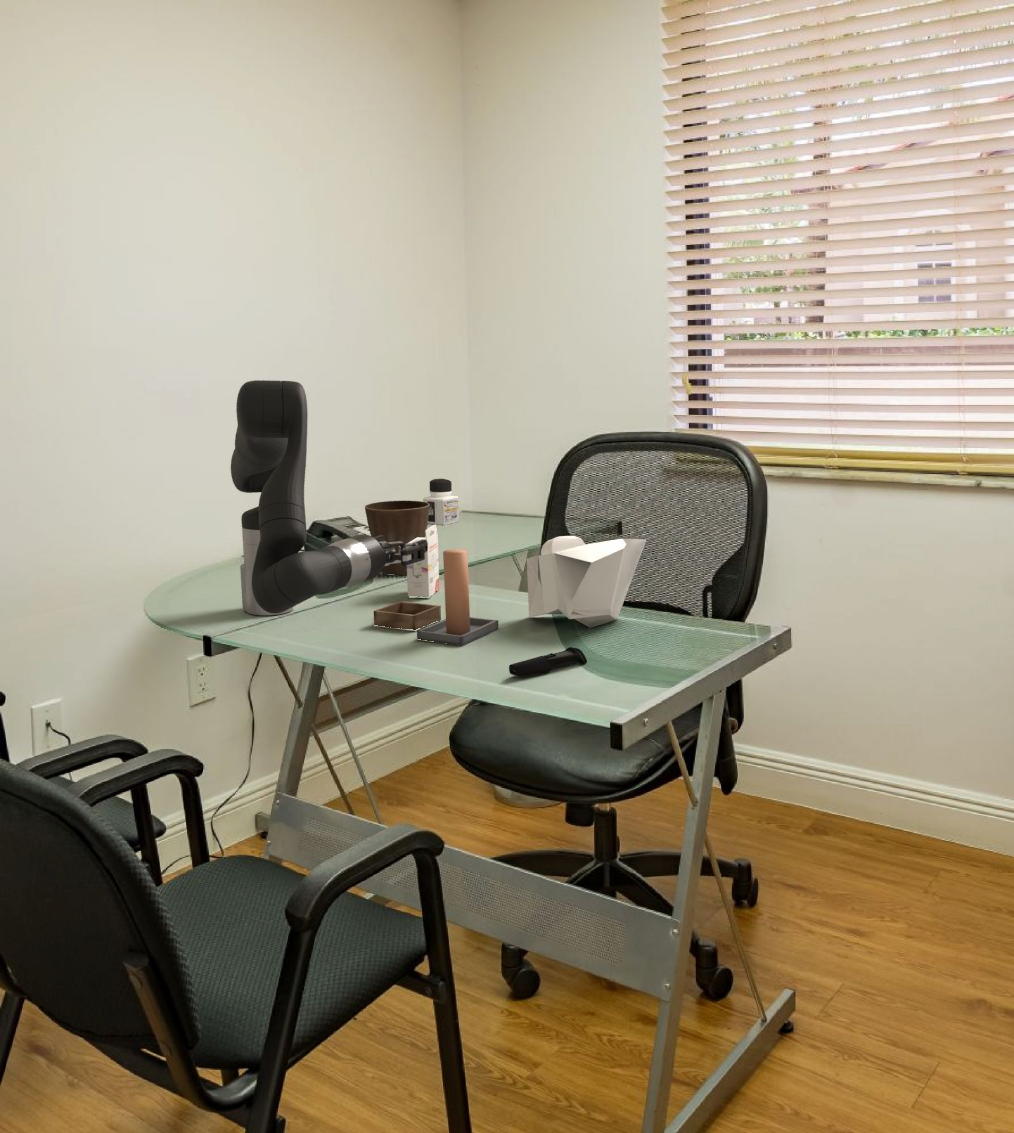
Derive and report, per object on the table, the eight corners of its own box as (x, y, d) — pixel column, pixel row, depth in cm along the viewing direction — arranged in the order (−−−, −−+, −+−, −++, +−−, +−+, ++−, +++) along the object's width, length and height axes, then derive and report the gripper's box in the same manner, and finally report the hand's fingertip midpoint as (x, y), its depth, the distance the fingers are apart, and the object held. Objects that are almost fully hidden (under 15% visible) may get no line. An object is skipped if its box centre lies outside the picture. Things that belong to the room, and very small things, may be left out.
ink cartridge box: (417, 590, 248) (415, 523, 245) (439, 590, 247) (438, 523, 244) (406, 598, 239) (404, 529, 237) (429, 599, 238) (427, 529, 236)
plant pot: (398, 582, 256) (396, 511, 253) (353, 574, 266) (351, 505, 262) (444, 571, 267) (443, 503, 264) (400, 564, 277) (398, 498, 274)
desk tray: (417, 640, 206) (416, 631, 205) (455, 623, 217) (454, 615, 217) (462, 646, 201) (461, 636, 201) (498, 629, 213) (498, 620, 213)
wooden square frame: (374, 626, 216) (373, 611, 216) (400, 616, 224) (400, 601, 224) (415, 631, 212) (414, 615, 211) (441, 620, 220) (440, 605, 219)
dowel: (441, 633, 208) (438, 552, 206) (454, 628, 212) (451, 548, 209) (462, 635, 206) (459, 554, 203) (474, 630, 210) (471, 549, 207)
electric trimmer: (503, 680, 183) (502, 661, 182) (573, 660, 193) (573, 642, 192) (518, 685, 180) (518, 666, 179) (588, 665, 190) (588, 647, 189)
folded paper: (516, 531, 217) (558, 553, 202) (625, 522, 227) (672, 542, 212) (514, 617, 222) (554, 644, 207) (620, 604, 232) (667, 629, 217)
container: (444, 525, 334) (443, 481, 332) (423, 523, 339) (422, 479, 336) (459, 521, 341) (458, 478, 338) (438, 519, 345) (437, 477, 342)
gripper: (386, 543, 180) (439, 525, 194) (313, 535, 187) (369, 518, 201) (388, 589, 182) (440, 568, 196) (315, 579, 189) (371, 560, 203)
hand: (404, 543), depth 198 cm, fingers open, 8 cm apart
